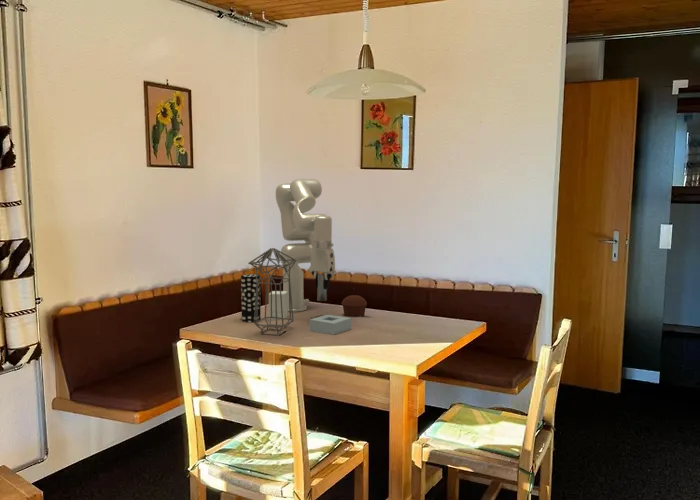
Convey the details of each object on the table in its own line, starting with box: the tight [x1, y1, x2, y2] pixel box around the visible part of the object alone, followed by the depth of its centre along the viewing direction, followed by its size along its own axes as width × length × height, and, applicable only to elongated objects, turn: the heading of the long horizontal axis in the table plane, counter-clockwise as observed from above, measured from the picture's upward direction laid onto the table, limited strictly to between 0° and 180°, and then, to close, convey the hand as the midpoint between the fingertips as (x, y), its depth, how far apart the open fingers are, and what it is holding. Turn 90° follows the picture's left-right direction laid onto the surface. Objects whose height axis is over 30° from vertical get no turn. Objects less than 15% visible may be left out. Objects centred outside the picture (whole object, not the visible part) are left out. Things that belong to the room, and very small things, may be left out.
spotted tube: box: [240, 273, 262, 323], centre depth 285 cm, size 8×8×20 cm
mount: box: [308, 314, 325, 325], centre depth 275 cm, size 10×8×4 cm
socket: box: [309, 314, 352, 336], centre depth 262 cm, size 12×12×6 cm
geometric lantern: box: [248, 247, 297, 337], centre depth 261 cm, size 16×16×35 cm
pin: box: [316, 271, 328, 302], centre depth 274 cm, size 4×4×14 cm
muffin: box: [341, 294, 368, 318], centre depth 292 cm, size 12×11×10 cm
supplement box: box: [268, 290, 289, 323], centre depth 286 cm, size 7×7×13 cm
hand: (322, 287), depth 274 cm, fingers closed on pin, 4 cm apart
